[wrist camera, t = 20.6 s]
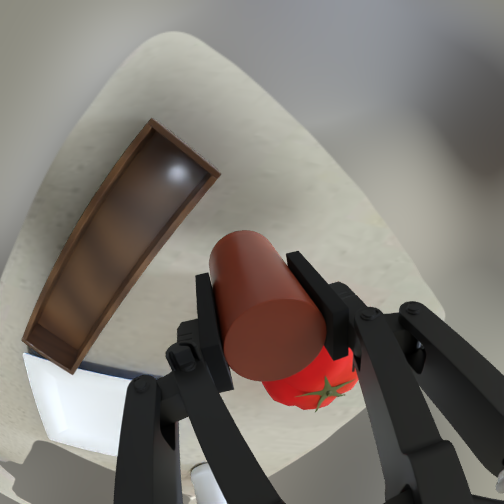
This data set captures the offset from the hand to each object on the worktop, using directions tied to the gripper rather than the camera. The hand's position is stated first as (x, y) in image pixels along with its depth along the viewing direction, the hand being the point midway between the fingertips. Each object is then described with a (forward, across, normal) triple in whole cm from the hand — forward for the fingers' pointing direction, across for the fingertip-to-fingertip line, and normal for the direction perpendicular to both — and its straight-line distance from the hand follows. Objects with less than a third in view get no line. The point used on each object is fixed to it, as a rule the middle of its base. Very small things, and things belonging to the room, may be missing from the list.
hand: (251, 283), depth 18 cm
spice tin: (+3, 0, 0) cm, 3 cm away
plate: (+15, -26, -25) cm, 39 cm away
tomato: (+15, +6, -19) cm, 25 cm away
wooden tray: (+15, -14, -1) cm, 20 cm away
